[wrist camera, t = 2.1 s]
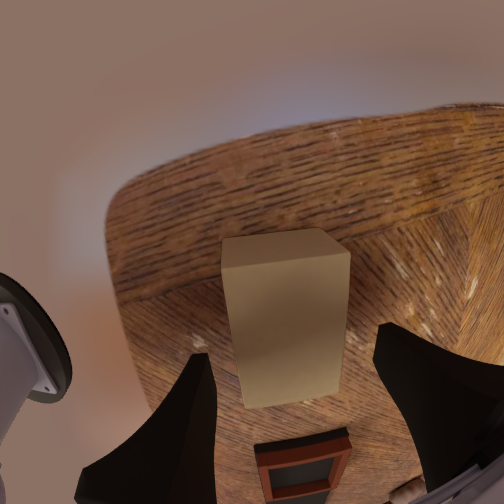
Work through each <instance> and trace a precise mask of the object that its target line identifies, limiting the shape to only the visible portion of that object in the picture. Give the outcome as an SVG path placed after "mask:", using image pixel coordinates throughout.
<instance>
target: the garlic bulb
mask: <svg viewBox="0 0 504 504" xmlns="http://www.w3.org/2000/svg"><path fill="white" fill-rule="evenodd" d="M424 488H425V482H424V481H423V480H422V479H416V480H413V481H410V482H409V483H407V484H406V485H404V486H403V487H401V488H400V489H398V490H396V491H394V492H392V493H391V494H390V496H389V500H390V502H392V503H393V504H408V503H410V502H412V501H414V500H416V499H417V498H418V497H419V495H420V494H421V493H422V492H423V490H424Z"/></svg>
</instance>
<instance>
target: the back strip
mask: <svg viewBox="0 0 504 504" xmlns="http://www.w3.org/2000/svg"><path fill="white" fill-rule="evenodd" d="M348 437H349V433H348V431H347V429H346V428H342V429H338V430H334V431H330V432H326V433H322V434H317V435H313V436H308V437H303V438H298V439H293V440H287V441H281V442H274V443H267V444H259V445H254V453H255V457H256V462H257V466H258V471H259V475H260V480H261V484H262V488H263V493H264V497H265V501H266V504H324V503H325V501H326V498H327V496H328V494H329V491H330V490H331V489H335V488H337V485H338V483H339V481H340V478H341V476H342V474H343V471H344V469H345V466H346V464H347V461H348V459H349V456H350V453H351V450H352V446H351V443H350V441H349V438H348Z"/></svg>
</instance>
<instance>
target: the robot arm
mask: <svg viewBox="0 0 504 504" xmlns="http://www.w3.org/2000/svg"><path fill="white" fill-rule="evenodd" d="M373 363H374V365H375V368H376V370H377V372H378V374H379V377H380V379H381V381H382V382H383V384H384V386H385V387H386V389H387V390H388V392H389V394H390V395H391V397H392V399H393V400H394V402H395V404H396V405H397V407H398V408H399V410H400V412H401V413H402V415H403V417H404V419H405V421H406V423H407V426H408V428H409V430H410V433H411V435H412V438H413V441H414V443H415V446H416V449H417V452H418V455H419V459H420V462H421V466H422V469H423V474H424V479H425V483H426V490H427V493H428V494H426V495H424V496H422V497H420V498H418V499H416V500H414V501H412V502H410V503H408V504H441V503H442V502H444V501H446V500H448V499H449V498H451V497H452V496H453V498H452V500H451V501H449V502H448V503H446V504H504V366H501V365H494V364H488V363H484V362H480V361H476V360H472V359H469V358H466V357H463V356H460V355H457V354H455V353H452V352H450V351H447V350H445V349H443V348H441V347H439V346H436V345H434V344H432V343H430V342H428V341H426V340H425V339H423V338H421V337H419V336H417V335H415V334H413V333H411V332H410V331H408V330H406V329H404V328H402V327H400V326H398V325H396V324H394V323H392V322H389V323H385V324H381V325H379V327H378V334H377V339H376V345H375V350H374V355H373ZM31 390H36V391H41V392H46V393H52V394H56V393H57V392H58V388H57V386H56V385H55V383H54V381H53V380H52V378H51V376H50V375H49V373H48V371H47V369H46V368H45V366H44V364H43V362H42V361H41V359H40V357H39V355H38V353H37V351H36V349H35V347H34V345H33V343H32V341H31V339H30V337H29V335H28V333H27V331H26V329H25V327H24V325H23V322H22V320H21V318H20V315H19V313H18V311H17V308H16V306H15V305H14V304H13V303H10V302H7V303H0V445H1V443H2V441H3V439H4V437H5V435H6V433H7V431H8V429H9V427H10V426H11V424H12V422H13V420H14V419H15V417H16V414H17V413H18V412H19V410H20V408H21V406H22V405H23V403H24V401H25V400H26V398H27V396H28V395H29V393H30V392H31ZM216 420H217V388H216V384H215V380H214V376H213V372H212V369H211V365H210V361H209V357H208V353H198V354H192V355H191V356H190V358H189V360H188V362H187V364H186V366H185V367H184V369H183V371H182V373H181V374H180V376H179V378H178V379H177V381H176V382H175V384H174V386H173V387H172V389H171V390H170V392H169V393H168V395H167V396H166V397H165V399H164V400H163V401H162V403H161V404H160V406H159V407H158V408H157V409H156V411H155V412H154V413H153V414H152V415H151V417H150V418H149V419H148V420H147V421H146V422H145V423H144V424H143V425H142V426H141V427H140V428H139V429H138V430H137V431H136V432H135V433H134V434H133V435H132V436H131V437H130V438H128V439H127V440H126V441H125V442H124V443H122V444H121V445H120V446H118V447H117V448H116V449H115V450H113V451H112V452H110V453H109V454H108V455H106V456H104V457H103V458H101V459H100V460H98V461H96V462H94V463H93V464H91V465H89V466H87V467H85V468H83V470H82V472H81V475H80V478H79V481H78V485H77V489H76V492H75V496H74V499H75V501H76V502H77V504H217V500H216V488H215V474H214V446H215V433H216ZM0 467H1V464H0ZM5 503H6V498H5V488H4V483H3V480H2V478H1V475H0V504H5Z"/></svg>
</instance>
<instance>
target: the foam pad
mask: <svg viewBox="0 0 504 504" xmlns="http://www.w3.org/2000/svg"><path fill="white" fill-rule="evenodd" d="M221 275H222V281H223V288H224V294H225V300H226V307H227V313H228V319H229V325H230V331H231V336H232V342H233V348H234V353H235V359H236V365H237V370H238V375H239V381H240V386H241V391H242V396H243V401H244V406H245V409H253V408H261V407H268V406H275V405H281V404H287V403H293V402H299V401H304V400H309V399H314V398H319V397H323V396H328V395H332V394H336V393H338V390H339V384H340V377H341V370H342V362H343V354H344V345H345V335H346V324H347V312H348V298H349V281H350V252H349V251H348V250H347V249H346V248H344V247H343V246H342V245H341V244H339V243H338V242H337V241H336V240H334V239H333V238H332V237H331V236H329V235H328V234H327V233H326V232H324V231H323V230H322V229H321V228H310V229H301V230H292V231H283V232H274V233H266V234H257V235H249V236H240V237H232V238H224V239H222V255H221Z"/></svg>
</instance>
